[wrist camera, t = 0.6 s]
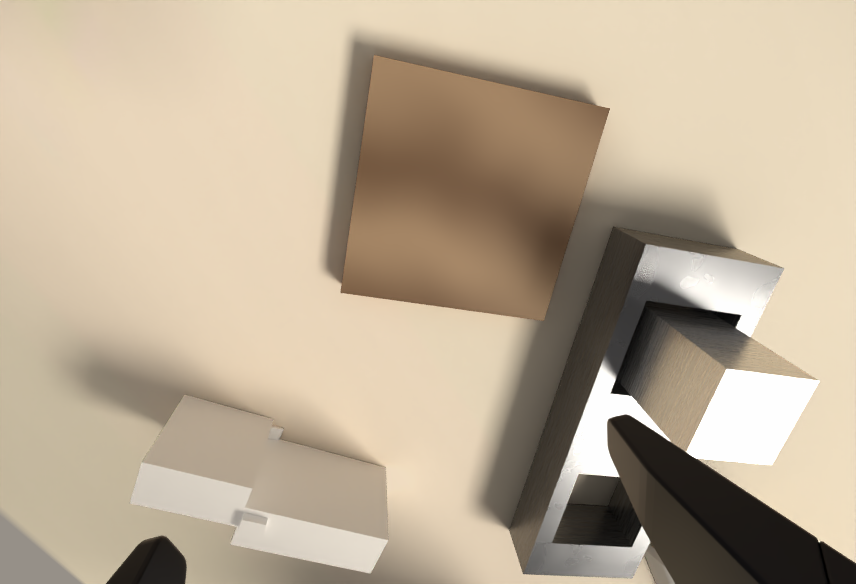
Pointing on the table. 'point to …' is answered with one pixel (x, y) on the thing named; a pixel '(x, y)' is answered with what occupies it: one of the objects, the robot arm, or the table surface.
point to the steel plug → (712, 385)
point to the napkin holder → (265, 487)
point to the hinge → (657, 567)
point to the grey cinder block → (619, 396)
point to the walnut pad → (466, 190)
